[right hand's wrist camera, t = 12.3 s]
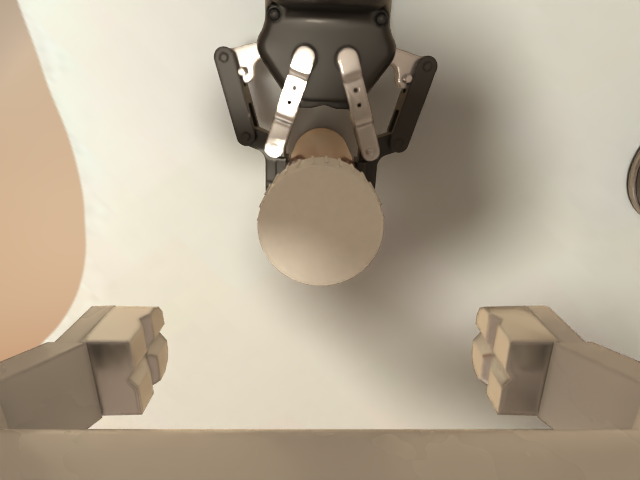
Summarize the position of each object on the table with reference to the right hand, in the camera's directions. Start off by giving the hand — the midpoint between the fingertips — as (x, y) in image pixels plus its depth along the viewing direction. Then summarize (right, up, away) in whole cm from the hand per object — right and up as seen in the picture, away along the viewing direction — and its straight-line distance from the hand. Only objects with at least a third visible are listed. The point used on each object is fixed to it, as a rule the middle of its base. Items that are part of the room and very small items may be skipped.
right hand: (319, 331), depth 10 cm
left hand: (0, +4, +20) cm, 20 cm away
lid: (0, +3, +8) cm, 8 cm away
